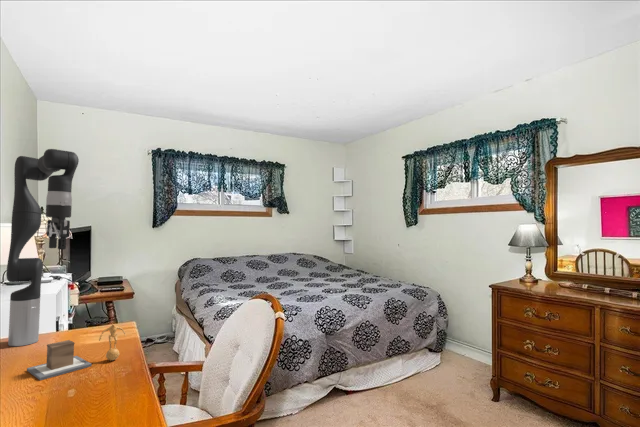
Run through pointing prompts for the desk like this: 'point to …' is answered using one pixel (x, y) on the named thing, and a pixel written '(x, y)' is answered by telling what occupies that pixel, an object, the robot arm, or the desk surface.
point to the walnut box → (60, 354)
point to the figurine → (114, 352)
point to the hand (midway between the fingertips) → (57, 248)
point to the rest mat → (45, 372)
